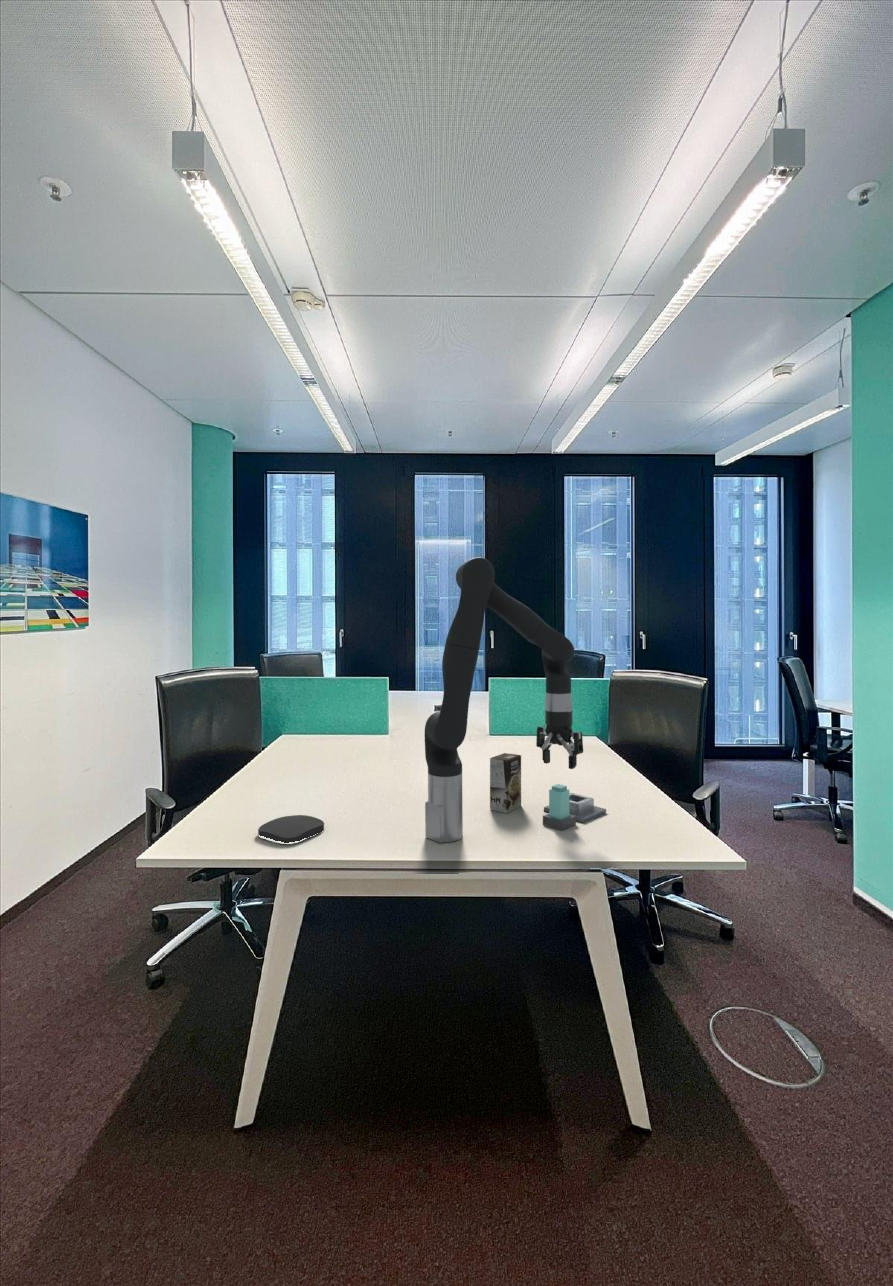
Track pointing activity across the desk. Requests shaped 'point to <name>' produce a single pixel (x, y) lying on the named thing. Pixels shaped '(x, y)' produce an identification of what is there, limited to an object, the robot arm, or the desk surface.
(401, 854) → the desk surface
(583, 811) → the grey stepped base
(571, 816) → the dark grey square tray
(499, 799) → the coffee box
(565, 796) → the plug
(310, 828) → the media streaming box
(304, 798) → the desk surface
